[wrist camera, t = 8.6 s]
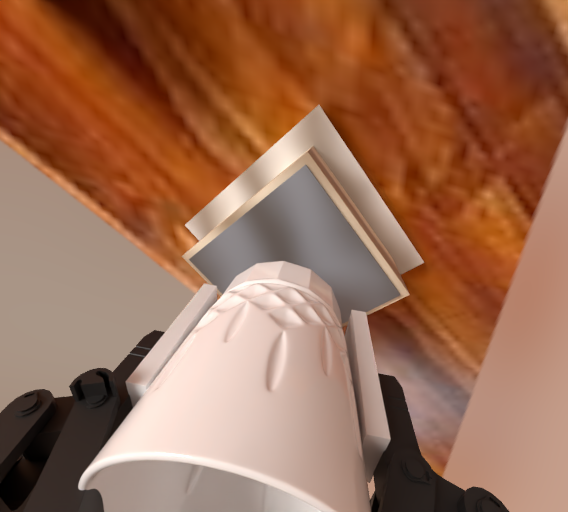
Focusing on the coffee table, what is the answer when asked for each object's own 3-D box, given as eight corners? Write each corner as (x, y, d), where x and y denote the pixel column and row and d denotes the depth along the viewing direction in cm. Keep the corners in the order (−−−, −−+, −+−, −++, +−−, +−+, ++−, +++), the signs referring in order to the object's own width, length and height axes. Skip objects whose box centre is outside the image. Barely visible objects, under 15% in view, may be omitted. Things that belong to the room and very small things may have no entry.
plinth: (319, 106, 22) (314, 95, 14) (417, 253, 26) (453, 304, 18) (194, 218, 28) (144, 252, 20) (289, 322, 32) (276, 382, 24)
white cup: (213, 242, 14) (28, 425, 6) (361, 257, 14) (421, 507, 5) (222, 349, 18) (116, 566, 9) (340, 367, 17) (351, 630, 8)
